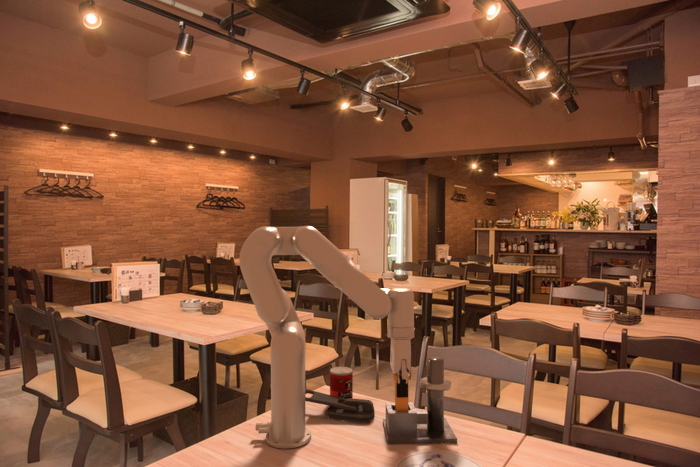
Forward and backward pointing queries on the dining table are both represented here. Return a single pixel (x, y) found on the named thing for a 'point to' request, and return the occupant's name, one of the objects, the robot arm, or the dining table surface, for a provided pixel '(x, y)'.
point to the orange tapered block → (400, 402)
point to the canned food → (341, 382)
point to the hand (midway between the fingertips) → (401, 394)
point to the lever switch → (422, 413)
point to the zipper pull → (344, 407)
